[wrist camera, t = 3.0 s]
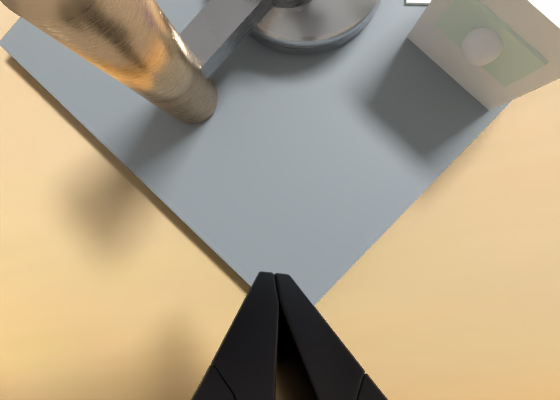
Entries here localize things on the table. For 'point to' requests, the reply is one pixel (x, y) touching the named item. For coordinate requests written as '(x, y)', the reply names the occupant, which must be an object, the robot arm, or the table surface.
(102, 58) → the crank handle
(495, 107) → the stand
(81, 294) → the table surface
